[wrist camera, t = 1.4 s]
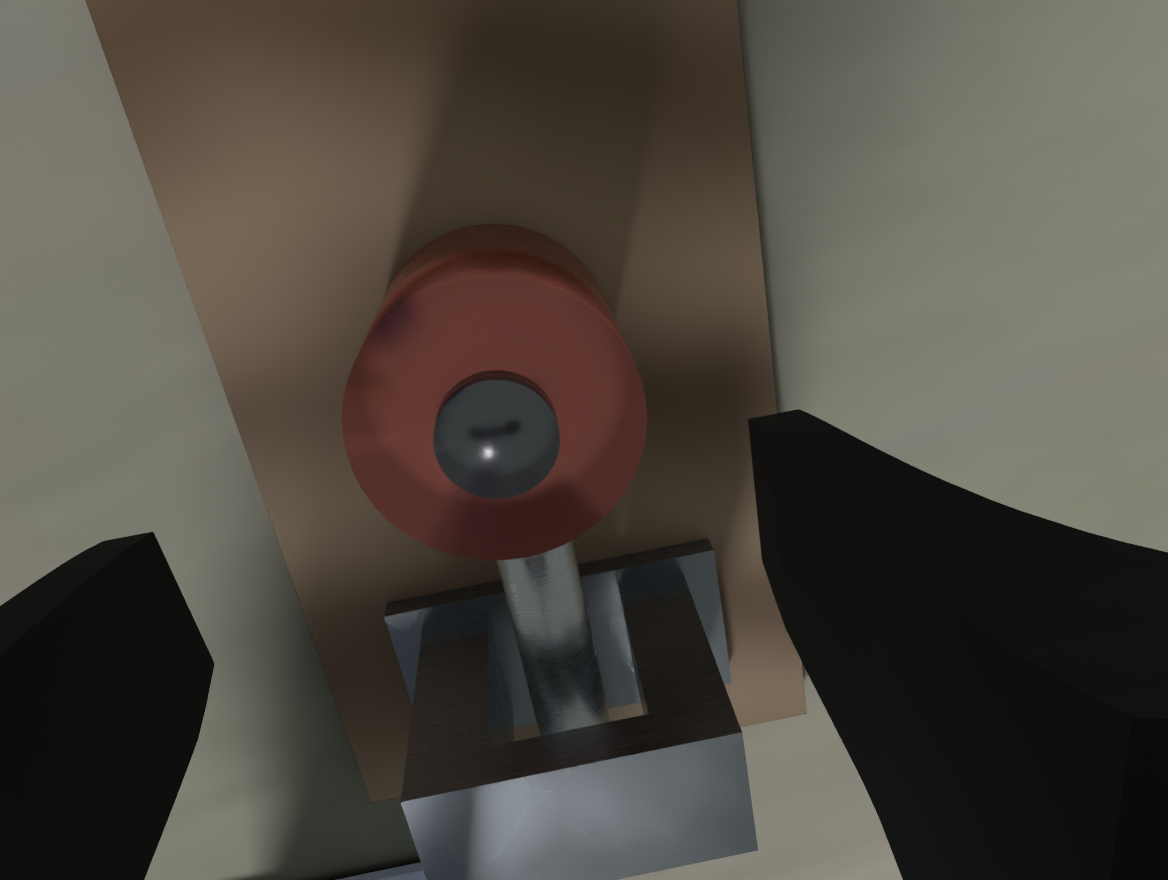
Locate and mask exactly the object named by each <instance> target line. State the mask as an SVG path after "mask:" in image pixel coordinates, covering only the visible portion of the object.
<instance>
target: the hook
mask: <svg viewBox="0 0 1168 880" xmlns="http://www.w3.org/2000/svg"><path fill="white" fill-rule="evenodd" d="M646 431H647V409H646V398H645V394H644V389H643V385H642V381H641V378H640V375H639V373H638V370H637V368H636V365H635V362H634V360H633V358H632V356H631V354H630V352H629V350H628V347H627V345H626V343H625V341H624V339H623V337H622V335H621V332H620V330H619V328H618V326H617V324H616V322H615V320H614V317H613V315H612V313H611V311H610V309H609V307H608V305H607V302H606V300H605V298H604V296H603V294H602V292H601V290H600V288H599V286H598V284H597V283H596V281H595V279H594V277H593V276H592V275H591V273H590V272H589V271H588V269H587V268H586V266H585V265H584V264H583V263H582V262H581V261H580V260H579V259H578V258H577V257H576V256H575V255H574V254H573V253H572V252H570V251H569V250H568V249H566V248H565V247H564V246H563V245H561V244H560V243H558V242H556V241H554V240H553V239H551V238H549V237H548V236H545V235H543V234H541V233H538V232H536V231H533V230H530V229H526V228H523V227H519V226H513V225H505V224H482V225H474V226H468V227H464V228H461V229H457V230H454V231H451V232H449V233H446V234H444V235H442V236H440V237H438V238H436V239H434V240H433V241H431V242H429V243H428V244H426V245H425V246H423V247H422V248H421V249H420V250H418V251H417V252H416V253H415V254H413V256H412V257H411V258H410V259H409V260H408V261H407V262H406V263H405V264H404V265H403V266H402V268H401V269H400V270H399V272H398V273H397V274H396V276H395V277H394V279H393V281H392V283H391V285H390V286H389V288H388V290H387V292H386V294H385V297H384V299H383V301H382V303H381V305H380V307H379V310H378V312H377V314H376V316H375V318H374V320H373V323H372V325H371V327H370V329H369V331H368V334H367V336H366V338H365V340H364V342H363V344H362V347H361V349H360V351H359V353H358V355H357V357H356V360H355V362H354V364H353V366H352V369H351V372H350V375H349V377H348V380H347V383H346V388H345V393H344V398H343V404H342V432H343V441H344V445H345V449H346V454H347V458H348V460H349V463H350V466H351V468H352V471H353V473H354V476H355V478H356V479H357V481H358V483H359V485H360V487H361V488H362V490H363V492H364V493H365V495H366V496H367V497H368V499H369V500H370V501H371V503H372V504H373V505H374V507H375V508H376V509H377V510H378V511H379V512H380V513H381V514H382V515H383V516H384V517H385V518H386V519H387V520H388V521H389V522H391V523H392V524H393V525H394V526H396V527H397V528H398V529H399V530H401V531H402V532H404V533H405V534H407V535H408V536H410V537H412V538H413V539H415V540H416V541H418V542H420V543H423V544H425V545H427V546H429V547H431V548H433V549H436V550H439V551H442V552H445V553H448V554H451V555H455V556H460V557H465V558H470V559H480V560H497V564H498V568H499V572H500V576H501V580H502V584H503V589H504V593H505V597H506V601H507V605H508V609H509V613H510V617H511V621H512V625H513V629H514V633H515V637H516V641H517V645H518V649H519V653H520V657H521V661H522V665H523V669H524V673H525V677H526V681H527V685H528V689H529V693H530V697H531V701H532V705H533V709H534V713H535V717H536V721H537V725H538V729H539V733H540V736H542V735H547V734H552V733H557V732H562V731H567V730H572V729H577V728H582V727H586V726H591V725H596V724H601V723H606V722H610V717H609V713H608V708H607V703H606V698H605V693H604V688H603V684H602V679H601V674H600V669H599V664H598V660H597V655H596V650H595V645H594V640H593V635H592V631H591V626H590V621H589V616H588V611H587V607H586V602H585V597H584V592H583V587H582V582H581V578H580V573H579V568H578V563H577V558H576V554H575V549H574V544H573V540H574V539H576V538H578V537H579V536H581V535H582V534H584V533H585V532H587V531H588V530H590V529H591V528H592V527H594V526H595V525H596V524H597V523H598V522H599V521H601V520H602V519H603V518H604V517H605V516H606V515H607V514H608V513H609V512H610V511H611V510H612V508H613V507H614V506H615V505H616V504H617V503H618V502H619V500H620V499H621V497H622V496H623V494H624V493H625V491H626V490H627V488H628V487H629V485H630V483H631V481H632V479H633V477H634V475H635V473H636V471H637V469H638V466H639V463H640V460H641V457H642V454H643V449H644V444H645V439H646Z"/></svg>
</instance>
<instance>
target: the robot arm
mask: <svg viewBox="0 0 1168 880" xmlns="http://www.w3.org/2000/svg"><path fill="white" fill-rule="evenodd" d="M748 426H749V436H750V446H751V456H752V467H753V477H754V487H755V497H756V507H757V517H758V527H759V537H760V547H761V557H762V562H763V565H764V568H765V571H766V574H767V577H768V580H769V583H770V586H771V589H772V592H773V595H774V598H775V601H776V603H777V606H778V609H779V612H780V615H781V617H782V620H783V623H784V626H785V628H786V630H787V633H788V635H789V637H790V639H791V641H792V643H793V645H794V647H795V649H796V651H797V653H798V655H799V657H800V659H801V661H802V663H803V665H804V667H805V669H806V671H807V673H808V675H809V677H810V679H811V681H812V683H813V685H814V687H815V688H816V690H817V692H818V694H819V696H820V698H821V700H822V702H823V704H824V706H825V708H826V710H827V712H828V714H829V716H830V718H831V720H832V722H833V724H834V726H835V728H836V730H837V732H838V734H839V736H840V738H841V739H842V741H843V743H844V745H845V747H846V749H847V751H848V753H849V755H850V757H851V759H852V761H853V763H854V765H855V767H856V769H857V771H858V773H859V775H860V777H861V779H862V781H863V783H864V785H865V787H866V790H867V792H868V794H869V796H870V798H871V801H872V803H873V805H874V807H875V809H876V812H877V814H878V816H879V819H880V821H881V824H882V826H883V829H884V831H885V834H886V837H887V839H888V842H889V844H890V847H891V850H892V852H893V855H894V857H895V860H896V863H897V865H898V868H899V870H900V873H901V876H902V878H903V880H1168V553H1167V552H1163V551H1159V550H1155V549H1151V548H1146V547H1142V546H1138V545H1134V544H1130V543H1125V542H1121V541H1117V540H1114V539H1110V538H1106V537H1103V536H1099V535H1096V534H1092V533H1088V532H1085V531H1081V530H1078V529H1075V528H1072V527H1069V526H1066V525H1063V524H1059V523H1056V522H1053V521H1050V520H1047V519H1044V518H1041V517H1038V516H1035V515H1032V514H1028V513H1025V512H1022V511H1019V510H1017V509H1014V508H1011V507H1008V506H1006V505H1003V504H1000V503H997V502H995V501H992V500H990V499H987V498H985V497H982V496H980V495H978V494H975V493H973V492H970V491H968V490H966V489H963V488H961V487H958V486H956V485H953V484H951V483H949V482H946V481H944V480H942V479H939V478H937V477H935V476H933V475H931V474H928V473H926V472H924V471H922V470H920V469H917V468H915V467H913V466H911V465H909V464H907V463H905V462H903V461H901V460H899V459H897V458H895V457H893V456H891V455H889V454H887V453H885V452H883V451H881V450H879V449H877V448H875V447H873V446H871V445H869V444H867V443H865V442H863V441H861V440H859V439H857V438H855V437H853V436H852V435H850V434H848V433H846V432H844V431H842V430H840V429H838V428H836V427H834V426H832V425H831V424H829V423H827V422H825V421H823V420H821V419H819V418H817V417H815V416H813V415H811V414H808V413H806V412H804V411H801V410H799V409H798V410H793V411H787V412H782V413H777V414H772V415H766V416H761V417H756V418H751V419H748ZM213 668H214V661H213V659H212V657H211V655H210V653H209V651H208V649H207V646H206V644H205V642H204V640H203V638H202V636H201V634H200V631H199V629H198V627H197V625H196V623H195V621H194V618H193V616H192V614H191V612H190V610H189V608H188V606H187V603H186V601H185V599H184V597H183V595H182V593H181V591H180V588H179V586H178V584H177V582H176V580H175V578H174V576H173V573H172V571H171V569H170V567H169V565H168V563H167V560H166V558H165V556H164V554H163V552H162V550H161V548H160V545H159V543H158V541H157V539H156V537H155V535H154V533H153V532H149V533H144V534H139V535H133V536H128V537H123V538H117V539H112V540H107V541H103V542H101V543H99V544H97V545H95V546H93V547H91V548H89V549H87V550H85V551H83V552H82V553H80V554H78V555H77V556H75V557H73V558H72V559H70V560H68V561H67V562H65V563H64V564H62V565H60V566H59V567H57V568H56V569H54V570H53V571H51V572H50V573H48V574H47V575H45V576H44V577H42V578H41V579H39V580H38V581H36V582H35V583H33V584H32V585H30V586H29V587H27V588H26V589H24V590H23V591H22V592H20V593H19V594H17V595H16V596H14V597H13V598H11V599H10V600H8V601H7V602H6V603H4V604H3V605H1V606H0V880H144V879H145V876H146V874H147V871H148V869H149V866H150V863H151V861H152V858H153V856H154V853H155V851H156V848H157V845H158V843H159V840H160V838H161V835H162V833H163V830H164V828H165V825H166V822H167V820H168V817H169V815H170V812H171V810H172V807H173V804H174V802H175V799H176V797H177V794H178V791H179V789H180V786H181V783H182V781H183V778H184V775H185V773H186V770H187V767H188V765H189V762H190V760H191V757H192V754H193V751H194V748H195V746H196V743H197V740H198V737H199V733H200V729H201V724H202V720H203V716H204V712H205V708H206V704H207V699H208V693H209V688H210V683H211V678H212V673H213ZM337 880H427V879H426V876H425V873H424V870H423V867H422V864H421V862H419V863H415V864H410V865H405V866H400V867H395V868H390V869H385V870H381V871H376V872H371V873H366V874H361V875H356V876H352V877H347V878H342V879H337Z"/></svg>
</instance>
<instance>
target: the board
mask: <svg viewBox="0 0 1168 880" xmlns="http://www.w3.org/2000/svg"><path fill="white" fill-rule="evenodd" d="M86 3H87V6H88V9H89V12H90V14H91V17H92V20H93V23H94V26H95V29H96V31H97V34H98V37H99V40H100V43H101V45H102V48H103V51H104V54H105V57H106V59H107V62H108V65H109V68H110V71H111V73H112V76H113V79H114V82H115V85H116V87H117V90H118V93H119V96H120V99H121V101H122V104H123V107H124V110H125V113H126V116H127V118H128V121H129V124H130V127H131V130H132V132H133V135H134V138H135V141H136V144H137V146H138V149H139V152H140V155H141V158H142V160H143V163H144V166H145V169H146V172H147V174H148V177H149V180H150V183H151V186H152V188H153V191H154V194H155V197H156V200H157V202H158V205H159V208H160V211H161V214H162V217H163V219H164V222H165V225H166V228H167V231H168V233H169V236H170V239H171V242H172V245H173V247H174V250H175V253H176V256H177V259H178V261H179V264H180V267H181V270H182V273H183V275H184V278H185V281H186V284H187V287H188V289H189V292H190V295H191V298H192V301H193V304H194V306H195V309H196V312H197V315H198V318H199V320H200V323H201V326H202V329H203V332H204V334H205V337H206V340H207V343H208V346H209V348H210V351H211V354H212V357H213V360H214V362H215V365H216V368H217V371H218V374H219V376H220V379H221V382H222V385H223V388H224V390H225V393H226V396H227V399H228V402H229V405H230V407H231V410H232V413H233V416H234V419H235V421H236V424H237V427H238V430H239V433H240V435H241V438H242V441H243V444H244V447H245V449H246V452H247V455H248V458H249V461H250V463H251V466H252V469H253V472H254V475H255V477H256V480H257V483H258V486H259V489H260V492H261V494H262V497H263V500H264V503H265V506H266V508H267V511H268V514H269V517H270V520H271V522H272V525H273V528H274V531H275V534H276V536H277V539H278V542H279V545H280V548H281V550H282V553H283V556H284V559H285V562H286V564H287V567H288V570H289V573H290V576H291V579H292V581H293V584H294V587H295V590H296V593H297V595H298V598H299V601H300V604H301V607H302V609H303V612H304V615H305V618H306V621H307V623H308V626H309V629H310V632H311V635H312V637H313V640H314V643H315V646H316V649H317V651H318V654H319V657H320V660H321V663H322V665H323V668H324V671H325V674H326V677H327V680H328V682H329V685H330V688H331V691H332V694H333V696H334V699H335V702H336V705H337V708H338V710H339V713H340V716H341V719H342V722H343V724H344V727H345V730H346V733H347V736H348V738H349V741H350V744H351V747H352V750H353V752H354V755H355V758H356V761H357V764H358V767H359V769H360V772H361V775H362V778H363V781H364V783H365V786H366V789H367V792H368V795H369V797H370V800H371V803H373V802H378V801H383V800H388V799H393V798H398V797H401V794H402V786H403V778H404V770H405V762H406V754H407V746H408V738H409V730H410V722H411V714H412V703H411V700H410V697H409V694H408V691H407V688H406V684H405V681H404V678H403V675H402V672H401V669H400V665H399V662H398V659H397V656H396V653H395V649H394V646H393V643H392V640H391V637H390V634H389V630H388V627H387V624H386V621H385V618H384V615H385V610H386V605H387V603H388V602H393V601H398V600H403V599H408V598H413V597H418V596H423V595H428V594H433V593H438V592H443V591H448V590H453V589H458V588H463V587H467V586H472V585H477V584H482V583H487V582H492V581H497V580H501V576H500V572H499V568H498V564H497V560H480V559H470V558H465V557H460V556H455V555H451V554H448V553H445V552H442V551H439V550H436V549H433V548H431V547H429V546H427V545H425V544H423V543H420V542H418V541H416V540H415V539H413V538H412V537H410V536H408V535H407V534H405V533H404V532H402V531H401V530H399V529H398V528H397V527H396V526H394V525H393V524H392V523H391V522H389V521H388V520H387V519H386V518H385V517H384V516H383V515H382V514H381V513H380V512H379V511H378V510H377V509H376V508H375V507H374V505H373V504H372V503H371V501H370V500H369V499H368V497H367V496H366V495H365V493H364V492H363V490H362V488H361V487H360V485H359V483H358V481H357V479H356V478H355V476H354V473H353V471H352V468H351V466H350V463H349V460H348V458H347V454H346V449H345V445H344V441H343V432H342V404H343V398H344V393H345V388H346V383H347V380H348V377H349V375H350V372H351V369H352V366H353V364H354V362H355V360H356V357H357V355H358V353H359V351H360V349H361V347H362V344H363V342H364V340H365V338H366V336H367V334H368V331H369V329H370V327H371V325H372V323H373V320H374V318H375V316H376V314H377V312H378V310H379V307H380V305H381V303H382V301H383V299H384V297H385V294H386V292H387V290H388V288H389V286H390V285H391V283H392V281H393V279H394V277H395V276H396V274H397V273H398V272H399V270H400V269H401V268H402V266H403V265H404V264H405V263H406V262H407V261H408V260H409V259H410V258H411V257H412V256H413V254H415V253H416V252H417V251H418V250H420V249H421V248H422V247H423V246H425V245H426V244H428V243H429V242H431V241H433V240H434V239H436V238H438V237H440V236H442V235H444V234H446V233H449V232H451V231H454V230H457V229H461V228H464V227H468V226H474V225H482V224H505V225H513V226H519V227H523V228H526V229H530V230H533V231H536V232H538V233H541V234H543V235H545V236H548V237H549V238H551V239H553V240H554V241H556V242H558V243H560V244H561V245H563V246H564V247H565V248H566V249H568V250H569V251H570V252H572V253H573V254H574V255H575V256H576V257H577V258H578V259H579V260H580V261H581V262H582V263H583V264H584V265H585V266H586V268H587V269H588V271H589V272H590V273H591V275H592V276H593V277H594V279H595V281H596V283H597V284H598V286H599V288H600V290H601V292H602V294H603V296H604V298H605V300H606V302H607V305H608V307H609V309H610V311H611V313H612V315H613V317H614V320H615V322H616V324H617V326H618V328H619V330H620V332H621V335H622V337H623V339H624V341H625V343H626V345H627V347H628V350H629V352H630V354H631V356H632V358H633V360H634V362H635V365H636V368H637V370H638V373H639V375H640V378H641V381H642V385H643V389H644V394H645V398H646V409H647V431H646V439H645V444H644V449H643V454H642V457H641V460H640V463H639V466H638V469H637V471H636V473H635V475H634V477H633V479H632V481H631V483H630V485H629V487H628V488H627V490H626V491H625V493H624V494H623V496H622V497H621V499H620V500H619V502H618V503H617V504H616V505H615V506H614V507H613V508H612V510H611V511H610V512H609V513H608V514H607V515H606V516H605V517H604V518H603V519H602V520H601V521H599V522H598V523H597V524H596V525H595V526H594V527H592V528H591V529H590V530H588V531H587V532H585V533H584V534H582V535H581V536H579V537H578V538H576V539H574V540H573V544H574V549H575V554H576V558H577V563H578V564H582V563H587V562H592V561H597V560H601V559H606V558H611V557H616V556H621V555H626V554H631V553H636V552H641V551H646V550H651V549H656V548H661V547H666V546H671V545H676V544H681V543H686V542H691V541H696V540H701V539H706V538H709V541H710V543H711V545H712V547H713V550H714V556H715V563H716V570H717V578H718V585H719V592H720V600H721V607H722V614H723V621H724V629H725V636H726V643H727V651H728V658H729V665H730V672H731V680H732V684H727V685H725V688H726V690H727V693H728V696H729V698H730V701H731V704H732V706H733V709H734V712H735V715H736V717H737V720H738V723H739V725H740V727H744V726H749V725H754V724H759V723H764V722H769V721H773V720H778V719H783V718H788V717H793V716H798V715H803V714H807V710H806V700H805V690H804V680H803V669H802V661H801V659H800V657H799V655H798V653H797V651H796V649H795V647H794V645H793V643H792V641H791V639H790V637H789V635H788V633H787V630H786V628H785V626H784V623H783V620H782V617H781V615H780V612H779V609H778V606H777V603H776V601H775V598H774V595H773V592H772V589H771V586H770V583H769V580H768V577H767V574H766V571H765V568H764V565H763V562H762V557H761V547H760V537H759V527H758V517H757V507H756V497H755V487H754V477H753V467H752V456H751V446H750V436H749V426H748V419H751V418H756V417H761V416H766V415H772V414H777V404H776V394H775V384H774V373H773V363H772V353H771V343H770V333H769V322H768V312H767V302H766V292H765V282H764V271H763V261H762V251H761V241H760V231H759V220H758V210H757V200H756V190H755V180H754V169H753V159H752V149H751V139H750V129H749V118H748V108H747V98H746V88H745V78H744V67H743V57H742V47H741V37H740V27H739V16H738V6H737V0H86ZM608 713H609V717H610V722H611V721H616V720H621V719H626V718H631V717H635V716H640V715H644V714H643V709H642V705H641V702H639V703H634V704H629V705H625V706H620V707H615V708H610V709H608ZM538 736H540V733H539V729H538V725H537V723H536V724H531V725H527V726H522V727H517V728H514V741H518V740H523V739H528V738H533V737H538Z"/></svg>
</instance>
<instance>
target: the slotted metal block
mask: <svg viewBox="0 0 1168 880" xmlns="http://www.w3.org/2000/svg"><path fill="white" fill-rule="evenodd" d="M578 568H579V573H580V578H581V582H582V587H583V592H584V597H585V602H586V607H587V611H588V616H589V621H590V626H591V631H592V635H593V640H594V645H595V650H596V655H597V660H598V664H599V669H600V674H601V679H602V684H603V688H604V693H605V698H606V703H607V708H608V709H610V708H615V707H620V706H625V705H629V704H634V703H639V702H641V705H642V709H643V714H644V715H640V716H635V717H631V718H626V719H621V720H616V721H611V722H606V723H601V724H596V725H591V726H586V727H582V728H577V729H572V730H567V731H562V732H557V733H552V734H547V735H542V736H538V737H533V738H528V739H523V740H518V741H514V728H517V727H522V726H527V725H531V724H536V723H537V721H536V717H535V713H534V709H533V705H532V701H531V697H530V693H529V689H528V685H527V681H526V677H525V673H524V669H523V665H522V661H521V657H520V653H519V649H518V645H517V641H516V637H515V633H514V629H513V625H512V621H511V617H510V613H509V609H508V605H507V601H506V597H505V593H504V589H503V584H502V580H497V581H492V582H487V583H482V584H477V585H472V586H467V587H463V588H458V589H453V590H448V591H443V592H438V593H433V594H428V595H423V596H418V597H413V598H408V599H403V600H398V601H393V602H388V603H387V605H386V610H385V615H384V618H385V621H386V624H387V627H388V630H389V634H390V637H391V640H392V643H393V646H394V649H395V653H396V656H397V659H398V662H399V665H400V669H401V672H402V675H403V678H404V681H405V684H406V688H407V691H408V694H409V697H410V700H411V703H412V714H411V722H410V730H409V738H408V746H407V754H406V762H405V770H404V778H403V786H402V794H401V805H402V808H403V811H404V814H405V817H406V820H407V823H408V826H409V829H410V832H411V835H412V838H413V841H414V844H415V847H416V850H417V853H418V855H419V858H420V861H421V864H422V867H423V870H424V873H425V876H426V879H427V880H617V879H622V878H626V877H631V876H636V875H641V874H646V873H650V872H655V871H660V870H665V869H670V868H675V867H679V866H684V865H689V864H694V863H699V862H704V861H708V860H713V859H718V858H723V857H728V856H732V855H737V854H742V853H747V852H752V851H757V850H758V847H757V839H756V832H755V824H754V817H753V810H752V802H751V795H750V787H749V780H748V773H747V765H746V758H745V750H744V743H743V736H742V731H741V728H740V725H739V723H738V720H737V717H736V715H735V712H734V709H733V706H732V704H731V701H730V698H729V696H728V693H727V690H726V688H725V685H727V684H732V680H731V672H730V665H729V658H728V651H727V643H726V636H725V629H724V621H723V614H722V607H721V600H720V592H719V585H718V578H717V570H716V563H715V556H714V550H713V547H712V545H711V543H710V541H709V538H706V539H701V540H696V541H691V542H686V543H681V544H676V545H671V546H666V547H661V548H656V549H651V550H646V551H641V552H636V553H631V554H626V555H621V556H616V557H611V558H606V559H601V560H597V561H592V562H587V563H582V564H578Z"/></svg>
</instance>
